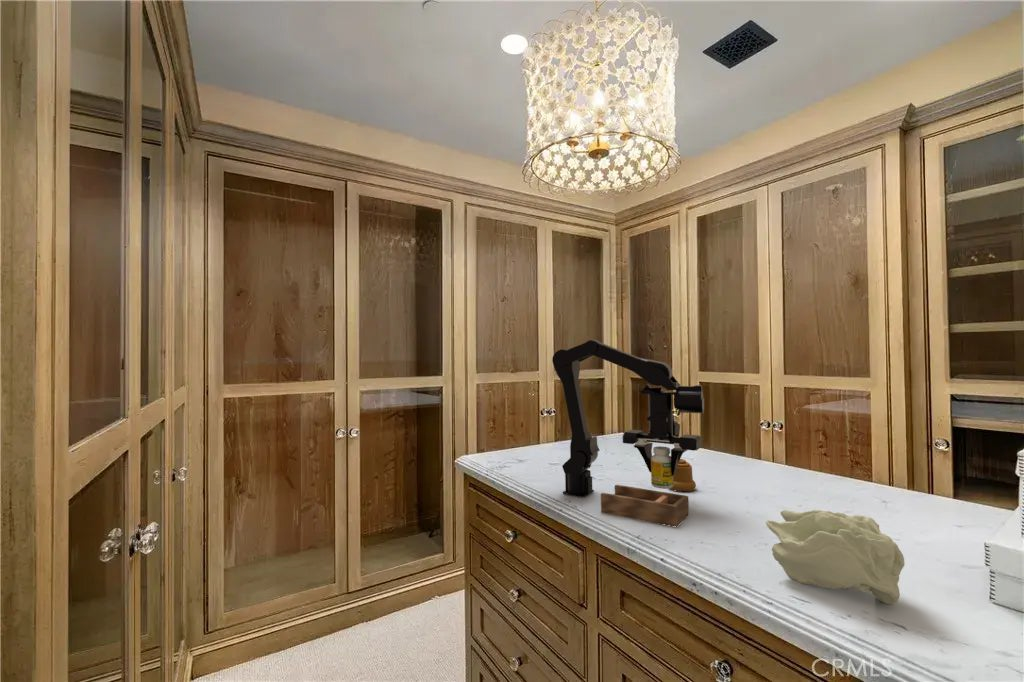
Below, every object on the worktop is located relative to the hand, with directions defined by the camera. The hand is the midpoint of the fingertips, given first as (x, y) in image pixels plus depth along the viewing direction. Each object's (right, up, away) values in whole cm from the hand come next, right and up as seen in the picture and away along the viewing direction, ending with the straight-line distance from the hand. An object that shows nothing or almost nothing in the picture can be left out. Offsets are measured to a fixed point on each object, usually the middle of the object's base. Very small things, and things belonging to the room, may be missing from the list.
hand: (662, 473), depth 121 cm
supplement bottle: (0, -3, 0) cm, 3 cm away
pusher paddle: (-3, -6, -10) cm, 12 cm away
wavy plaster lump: (+14, -7, -43) cm, 46 cm away
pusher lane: (-7, -7, -8) cm, 12 cm away
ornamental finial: (+9, -8, +12) cm, 17 cm away
